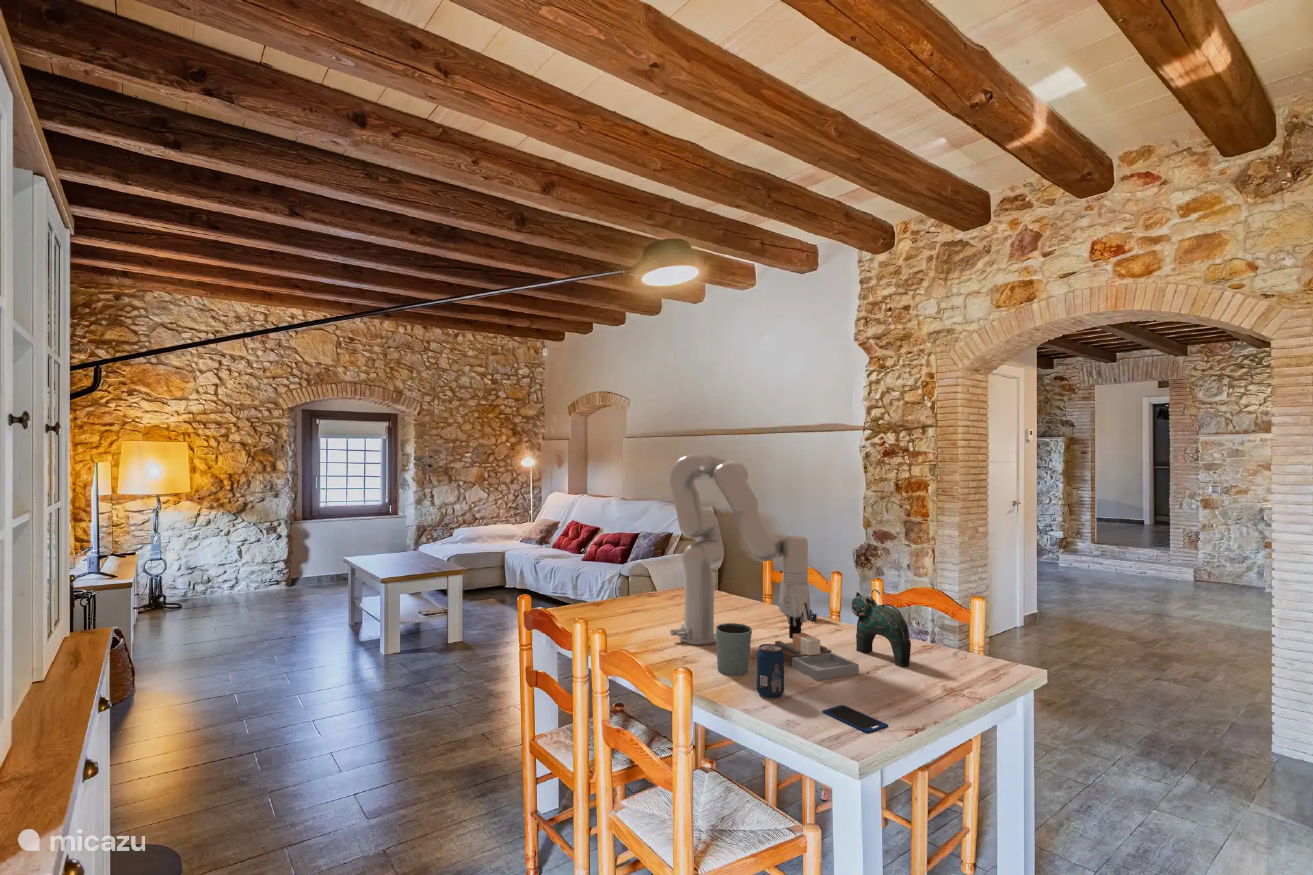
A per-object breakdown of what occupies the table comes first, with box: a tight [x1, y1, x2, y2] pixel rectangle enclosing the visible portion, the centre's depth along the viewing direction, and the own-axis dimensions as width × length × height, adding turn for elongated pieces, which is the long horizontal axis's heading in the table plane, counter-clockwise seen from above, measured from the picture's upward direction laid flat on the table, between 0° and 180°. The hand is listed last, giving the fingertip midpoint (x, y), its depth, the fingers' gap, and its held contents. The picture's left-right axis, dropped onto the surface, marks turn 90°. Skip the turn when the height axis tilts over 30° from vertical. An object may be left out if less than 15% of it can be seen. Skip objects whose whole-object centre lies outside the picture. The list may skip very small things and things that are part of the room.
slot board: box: [774, 640, 832, 668], centre depth 197 cm, size 14×11×4 cm
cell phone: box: [821, 704, 889, 734], centre depth 153 cm, size 7×14×1 cm, turn 32°
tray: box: [791, 651, 860, 681], centre depth 186 cm, size 14×12×3 cm
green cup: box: [715, 622, 753, 677], centre depth 185 cm, size 10×10×12 cm
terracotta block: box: [792, 632, 811, 651], centre depth 196 cm, size 4×4×4 cm
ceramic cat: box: [851, 589, 912, 668], centre depth 198 cm, size 20×6×20 cm, turn 27°
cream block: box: [800, 635, 821, 655], centre depth 192 cm, size 4×4×4 cm
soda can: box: [755, 643, 785, 700], centre depth 168 cm, size 7×7×12 cm
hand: (795, 638), depth 199 cm, fingers closed
